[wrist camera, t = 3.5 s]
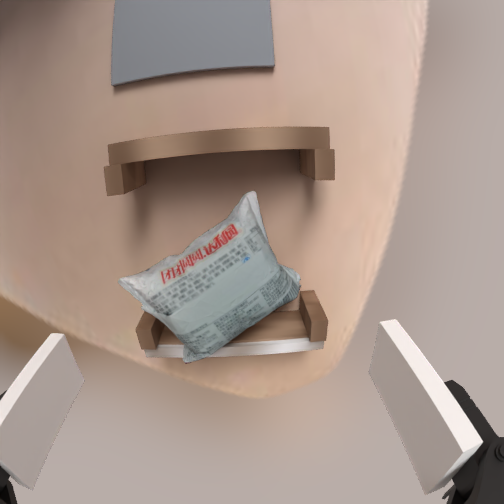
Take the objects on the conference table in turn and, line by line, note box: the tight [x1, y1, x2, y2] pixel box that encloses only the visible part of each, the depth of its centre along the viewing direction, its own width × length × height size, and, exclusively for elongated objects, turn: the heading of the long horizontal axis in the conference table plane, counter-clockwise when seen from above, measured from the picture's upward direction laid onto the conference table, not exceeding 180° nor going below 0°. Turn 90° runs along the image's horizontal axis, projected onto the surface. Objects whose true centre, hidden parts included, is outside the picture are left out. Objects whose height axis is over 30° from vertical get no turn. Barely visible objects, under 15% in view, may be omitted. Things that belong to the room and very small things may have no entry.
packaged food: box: [118, 191, 301, 364], centre depth 22 cm, size 9×12×5 cm
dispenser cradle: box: [104, 127, 335, 358], centre depth 22 cm, size 15×18×5 cm
